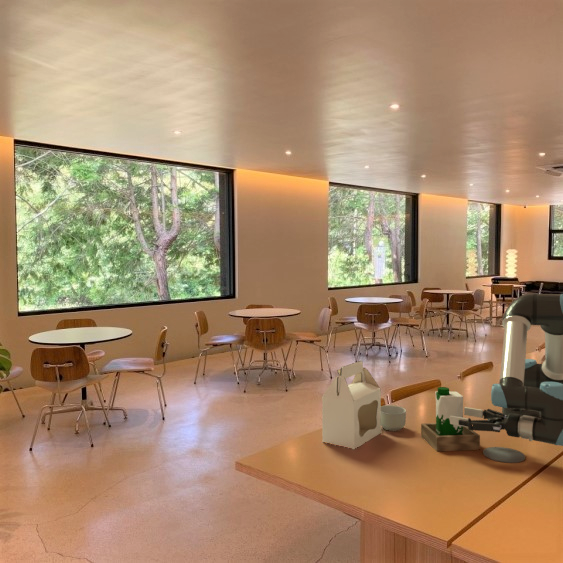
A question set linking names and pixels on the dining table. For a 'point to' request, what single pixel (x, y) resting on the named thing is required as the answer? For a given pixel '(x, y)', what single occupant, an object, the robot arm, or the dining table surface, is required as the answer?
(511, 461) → the grey coaster
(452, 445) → the walnut crate
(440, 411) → the soya milk
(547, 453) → the dining table surface
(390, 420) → the teacup
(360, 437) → the gable box
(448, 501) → the dining table surface
